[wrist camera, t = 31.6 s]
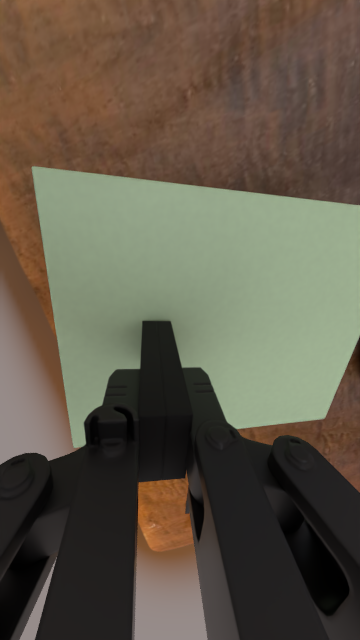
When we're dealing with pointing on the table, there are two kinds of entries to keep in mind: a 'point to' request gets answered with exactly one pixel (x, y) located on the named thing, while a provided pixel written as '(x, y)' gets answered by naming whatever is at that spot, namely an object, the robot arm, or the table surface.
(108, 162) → the table surface
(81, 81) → the table surface
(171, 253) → the chest lid
